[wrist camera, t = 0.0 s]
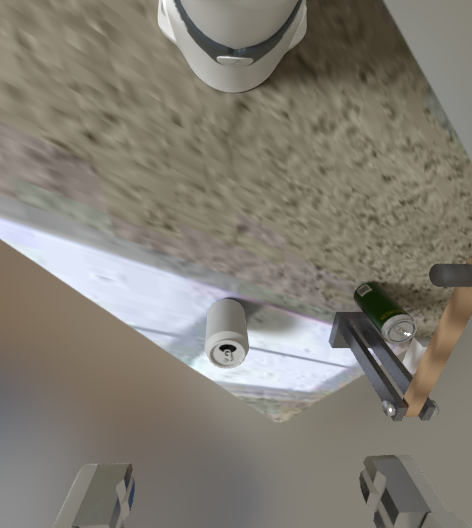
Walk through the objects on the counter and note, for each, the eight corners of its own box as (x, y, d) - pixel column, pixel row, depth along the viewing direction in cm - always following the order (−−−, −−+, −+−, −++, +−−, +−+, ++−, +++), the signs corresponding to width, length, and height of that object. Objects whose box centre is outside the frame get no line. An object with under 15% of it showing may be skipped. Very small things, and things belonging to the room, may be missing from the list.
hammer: (427, 249, 31) (454, 264, 28) (498, 250, 32) (534, 265, 28) (370, 396, 43) (384, 420, 39) (423, 395, 43) (442, 419, 40)
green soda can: (346, 294, 53) (377, 335, 42) (366, 275, 51) (404, 312, 40) (363, 307, 55) (398, 349, 44) (384, 289, 53) (425, 328, 42)
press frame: (336, 312, 55) (390, 396, 37) (382, 312, 55) (457, 395, 38) (328, 341, 58) (375, 431, 41) (372, 341, 59) (436, 430, 41)
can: (247, 298, 52) (253, 340, 42) (241, 327, 56) (246, 373, 45) (209, 294, 52) (206, 336, 41) (206, 324, 55) (202, 370, 44)
